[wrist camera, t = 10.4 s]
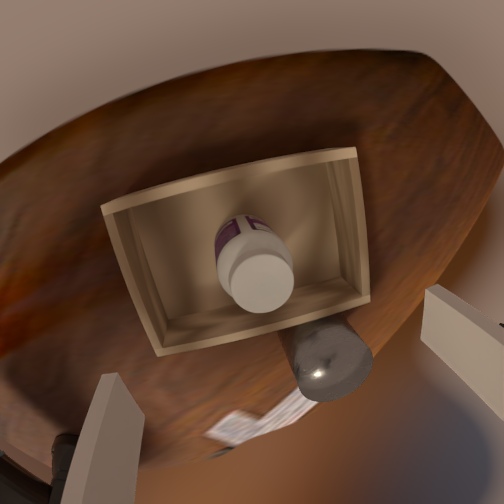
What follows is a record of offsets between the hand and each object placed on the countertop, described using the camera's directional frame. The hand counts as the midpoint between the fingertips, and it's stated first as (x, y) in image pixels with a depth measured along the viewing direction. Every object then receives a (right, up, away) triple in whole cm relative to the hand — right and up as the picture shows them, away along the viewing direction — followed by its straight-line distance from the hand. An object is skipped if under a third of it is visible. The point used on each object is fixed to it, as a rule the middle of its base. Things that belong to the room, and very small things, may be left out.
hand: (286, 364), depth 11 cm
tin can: (+5, -3, +21) cm, 22 cm away
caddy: (-2, +6, +17) cm, 18 cm away
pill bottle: (-2, +5, +16) cm, 17 cm away
